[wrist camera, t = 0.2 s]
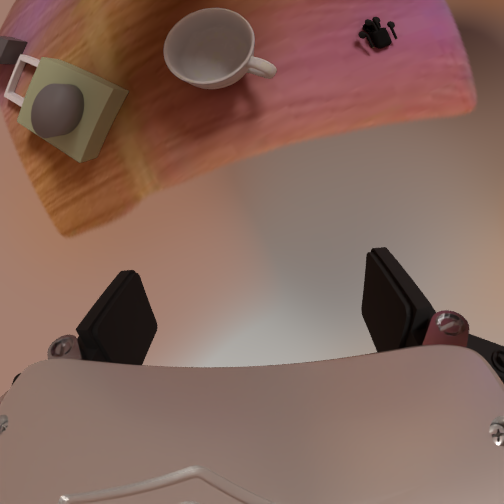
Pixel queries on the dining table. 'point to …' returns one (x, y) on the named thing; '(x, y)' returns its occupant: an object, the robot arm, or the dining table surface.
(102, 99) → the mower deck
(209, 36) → the teacup
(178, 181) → the dining table surface
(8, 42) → the grey block
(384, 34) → the wireless earbuds
